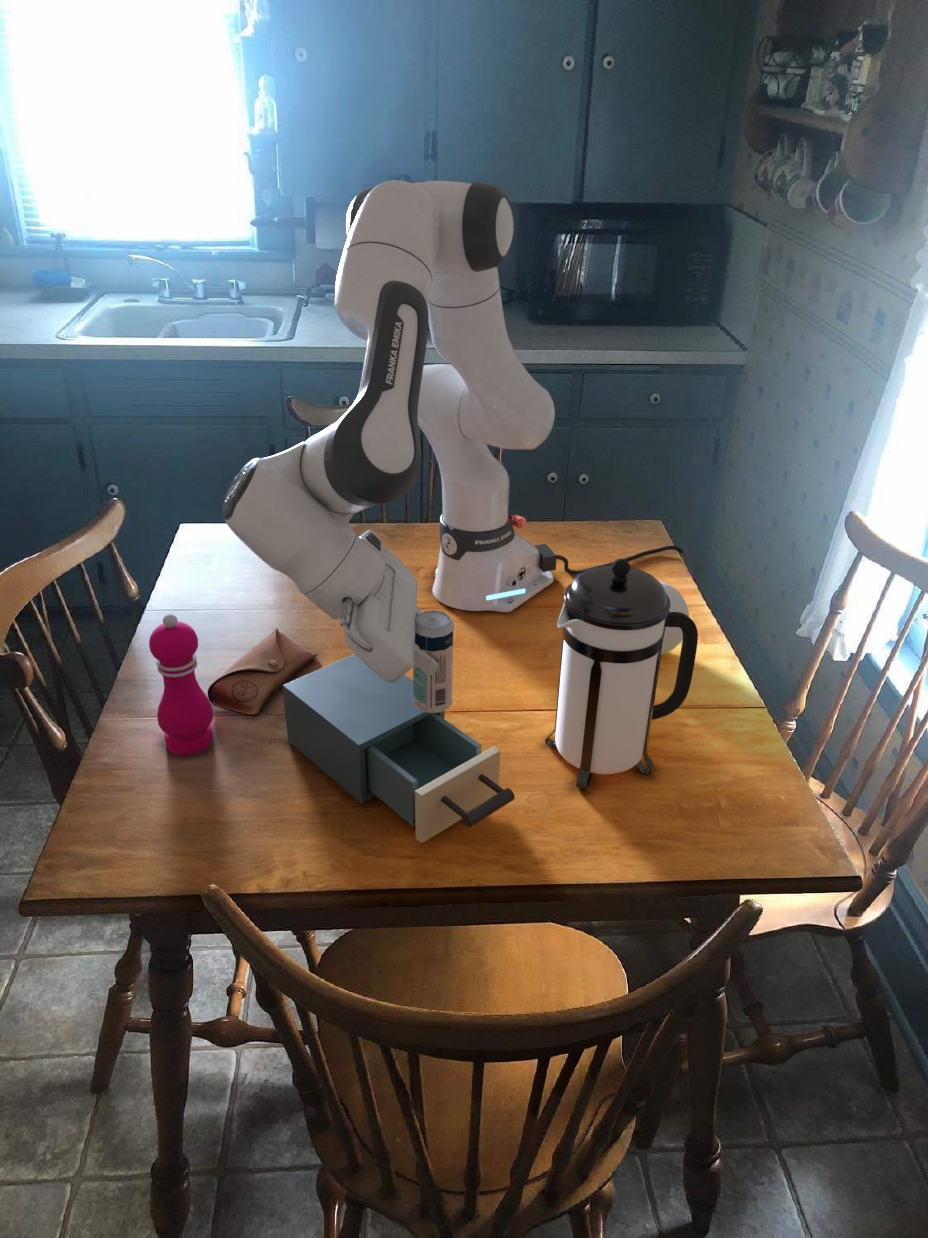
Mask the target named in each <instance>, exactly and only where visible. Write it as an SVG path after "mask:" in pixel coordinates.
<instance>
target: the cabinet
mask: <svg viewBox="0 0 928 1238" xmlns="http://www.w3.org/2000/svg"><path fill="white" fill-rule="evenodd" d="M282 694H283V704H284V715H285V725H286V735H287V737H286V738H287V742H288V743H290V744H291V745H292V746H293V747H294V748H295V749H297V751H299V752H300V753H301V754H302V755H303V756H305V757H306V759H308V760H310V761H311V762H312V763H313V764H314V765H315V766H317V768H319V769H320V770H321V771H322V772H323V773H324V774H326V775H327V776H328V777H329V778H331V779H332V780H333V781H334V782H336V783H337V784H338V785H339V786H340V787H341V788H343V790H345V791H346V792H347V793H348V794H349V795H350V796H352V797H353V798H354V799H355V800H356V801H358V803H360V804H362V805H363V804H364V803H366V802H368V801H369V800H371V799H373V798H375V797H377V796H376V795H374V794H373V793H372V792H371V791H370V790H368V789H367V785H366V762H365V748H366V747H368V746H370V745H372V744H374V743H376V742H378V741H380V740H382V739H384V738H386V737H388V736H390V735H392V734H394V733H396V732H398V731H400V730H401V729H403V728H405V727H407V726H409V725H411V724H413V723H415V722H417V721H419V720H421V719H423V718H425V717H427V716H429V715H431V714H433V713H427V712H423V711H421V710H419V709H417V708H416V707H415V706H414V704H413V679H412V678H410V677H409V676H407V675H406V674H405V675H403V676H402V677H401V678H400V679H398V680H397V681H396V682H393V683H392V682H387V681H384V680H383V679H382V678H380V677H379V676H378V675H377V674H376V673H375V672H374V671H373V670H372V669H370V668H369V667H368V666H367V665H366V664H365V663H364V662H363V661H362V660H361V659H360V658H359V657H358V656H357V655H356V654H355V653H354V654H351V655H349V656H347V657H344V658H342V659H340V660H339V659H338V660H337V661H335V662H333V663H330V664H328V665H326V666H324V667H321V668H318V669H316V670H314V671H312V672H310V673H308V674H305V675H303V676H300V677H298V678H296V679H293V680H292V681H288V682H287V683H286V684H284V685H283V687H282ZM445 712H446V710H445V711H442V712H438V713H436V714H438V715H439V716H440V717H442V718H443V719H445V720H446V717H445V714H446V713H445Z"/></svg>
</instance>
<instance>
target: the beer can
mask: <svg viewBox="0 0 928 1238" xmlns="http://www.w3.org/2000/svg"><path fill="white" fill-rule="evenodd" d="M454 629H455V624H454V621H453V620H452V618H451V616H450V615H449V614H448V613H446V612H445V611H440V610H436V609H431V610H424V611H422V613H421V614H419V615H417V618H416V628H415V644H417V645H418V646H419V650H420V651H422V652H424V653H426V654H427V653H428V652H430V653H431V654H432V655H434V656H435V657H436V658H437V659H438V661H439V668H438V670H437V671H436V672H434V673H433V674H432V675H426V674H425V673H424V672H423V671H422V670H420V669H419V668H416V667H412V676H413V677H412V680H413V704H414V706H415V707H416V708H417V709H419V710H421V711H423V712H427V713H438V712H442V711H445V712H446V710H448V709H450V707H451V706H452V705H453V663H454V662H453V661H454V660H453V659H454V657H453V656H454Z"/></svg>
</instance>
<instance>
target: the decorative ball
mask: <svg viewBox="0 0 928 1238" xmlns="http://www.w3.org/2000/svg"><path fill="white" fill-rule="evenodd" d="M658 581H659V582H660V583H661V584H662V586H663V587H664V589H665V592H666V594H667V595H668V597H669V599H670V611H669V612H680V613H684V614H685V615H687V616H688V617H689V618H690V612H689V607H688V604H687V602H686V600H685V599H684V596H683V595H682V594H681V593H680V592H679V591H678V589H676V588H675V587H674V586H672V585H670V584H668V583H667V582H664V581H661V580H658ZM682 641H683V633H682V630H681V628H679V627H665V635H664V642H663V647H662V655H661V656H663V655H664V654H667V653H670V652H671V651H673V650H675V648H677V647H678V646H679V645H680V644H681V643H682Z"/></svg>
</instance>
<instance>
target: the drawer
mask: <svg viewBox="0 0 928 1238" xmlns="http://www.w3.org/2000/svg"><path fill="white" fill-rule="evenodd" d="M365 762H366V785H367V789H368V790H370V791H371V792H372V793H373V794H374V795H376V796H375V797H377V798H378V799H379V800H380V801H381V802H383V803H384V804H386V806H387V807H388V808H390V809H391V810H393V811H394V812H395V813H396V814H397V815H398V816H400V817H401V818H402V819H403V820H404V821H406V822H407V823H408V824H409V825H411V826H412V827H414V826H415V839H416V840H417V841H418V842H420V843H421V844H423V843H425V842H427V841H428V840H429V839H431V838H433V837H435V836H437V835H438V834H440V833H441V832H443V831H444V830H446V829H448V828H449V827H451V826H453V825H455V824H456V823H458V822H459V821H461V820H462V823H463V824H464V826H466V827H467V828H471V827H473V826H474V825H476V824H478V823H479V822H480V821H483V820H484V819H486V818H488V817H489V816H490V815H492V814H494V813H496V812H497V811H498V810H500V809H502V808H504V807H505V806H507V805H508V804H510V803H512V802H513V801H515V799H516V797H515V793H514V791H513V790H512V788H509V787H506V788H505V789H504V788H503V787H501V786H500V771H501V769H500V767H501V750H500V749H499V748H498V747H496V746H491V747H490V748H488V749H487V750H484V751H483V752H482V744H481V743H479V742H478V741H476V740H475V739H473V738H472V737H470V735H468V734H466V733H465V732H463V731H462V730H461V729H459V728H458V727H456V726H455V725H454V724H452V723H450V722H449V721H448V720H447V719H446V718H445V719H443V718H442V717H440V716H439V715H438V714H436V713H433V714H431V715H429V716H427V717H425V718H423V719H421V720H419V721H417V722H415V723H413V724H411V725H409V726H407V727H405V728H403V729H401V730H400V731H398V732H396V733H394V734H392V735H390V736H388V737H386V738H384V739H382V740H380V741H378V742H376V743H374V744H372V745H370V746H368V747H366V748H365Z"/></svg>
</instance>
